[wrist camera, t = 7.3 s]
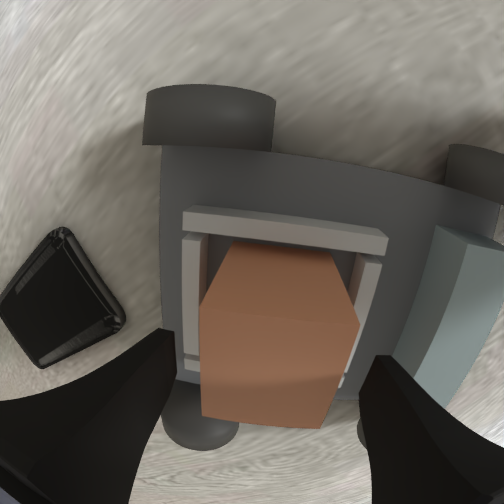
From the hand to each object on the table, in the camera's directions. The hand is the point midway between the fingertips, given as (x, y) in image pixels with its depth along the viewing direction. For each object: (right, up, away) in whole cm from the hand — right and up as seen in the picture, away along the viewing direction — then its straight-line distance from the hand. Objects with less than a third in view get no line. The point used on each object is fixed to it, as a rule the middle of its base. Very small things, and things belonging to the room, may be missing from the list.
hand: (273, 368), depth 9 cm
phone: (-17, 0, +9) cm, 19 cm away
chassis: (+4, +2, +6) cm, 7 cm away
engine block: (0, +2, +5) cm, 5 cm away
